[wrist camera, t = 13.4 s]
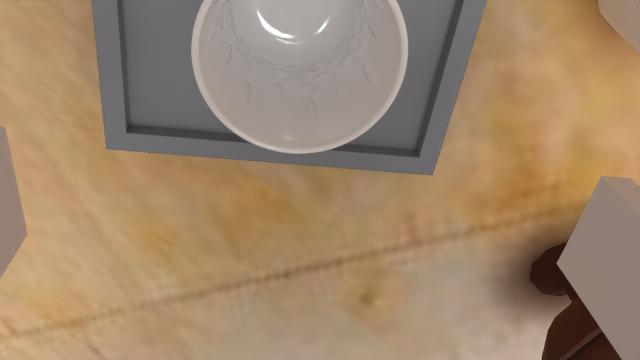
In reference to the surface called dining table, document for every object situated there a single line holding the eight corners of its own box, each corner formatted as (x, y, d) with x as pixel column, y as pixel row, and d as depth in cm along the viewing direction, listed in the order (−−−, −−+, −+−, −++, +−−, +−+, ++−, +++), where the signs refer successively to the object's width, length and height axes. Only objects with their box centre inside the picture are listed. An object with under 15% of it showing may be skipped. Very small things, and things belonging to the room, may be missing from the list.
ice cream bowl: (638, 286, 44) (784, 467, 31) (509, 329, 45) (598, 516, 33) (628, 194, 38) (803, 371, 25) (481, 247, 40) (577, 436, 27)
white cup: (186, -1, 27) (147, 72, 19) (283, -132, 24) (289, -115, 16) (299, 90, 30) (309, 187, 22) (397, -15, 27) (452, 50, 19)
